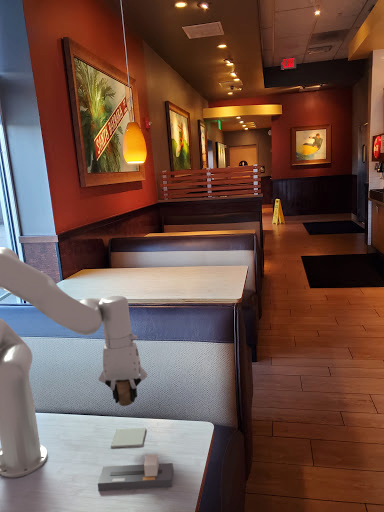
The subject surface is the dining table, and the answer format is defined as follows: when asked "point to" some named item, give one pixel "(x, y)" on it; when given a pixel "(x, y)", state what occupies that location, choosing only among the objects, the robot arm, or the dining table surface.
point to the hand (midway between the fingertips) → (125, 399)
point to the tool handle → (124, 392)
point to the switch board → (134, 477)
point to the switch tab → (151, 465)
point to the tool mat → (128, 437)
